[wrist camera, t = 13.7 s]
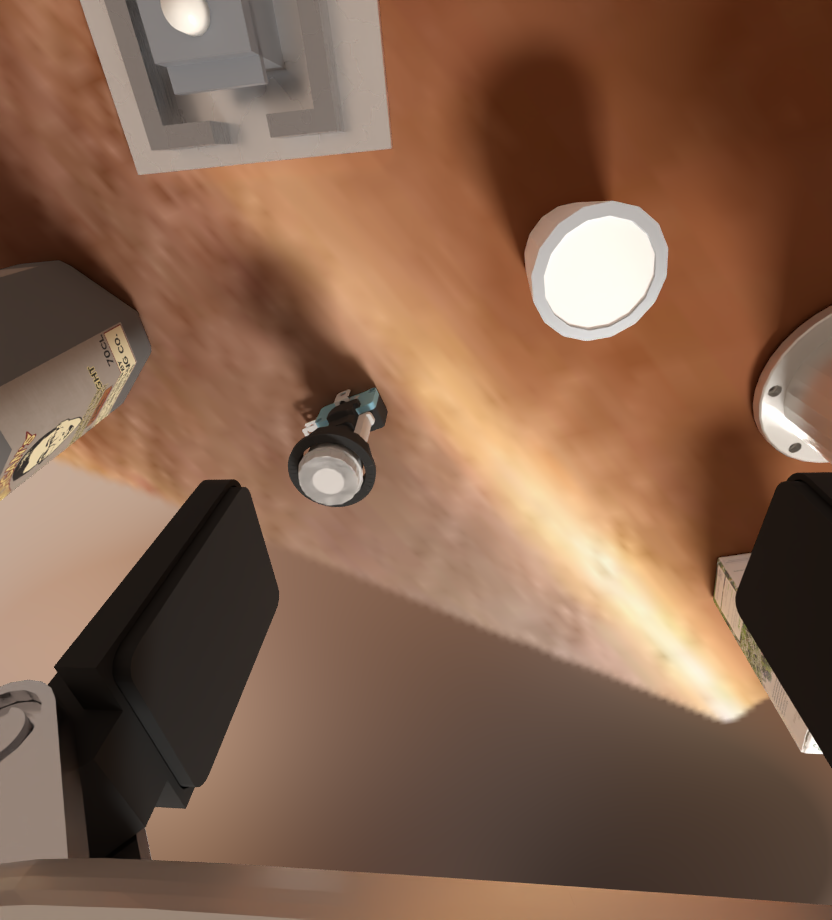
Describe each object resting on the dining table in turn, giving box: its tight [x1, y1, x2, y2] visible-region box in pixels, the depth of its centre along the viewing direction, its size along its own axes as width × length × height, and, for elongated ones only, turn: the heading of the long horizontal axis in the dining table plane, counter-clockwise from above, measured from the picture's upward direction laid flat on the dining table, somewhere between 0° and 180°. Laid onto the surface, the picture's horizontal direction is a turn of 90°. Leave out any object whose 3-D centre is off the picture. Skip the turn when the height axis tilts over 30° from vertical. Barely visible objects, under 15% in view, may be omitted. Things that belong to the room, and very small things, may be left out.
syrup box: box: [713, 553, 823, 754], centre depth 39 cm, size 6×6×14 cm
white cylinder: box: [524, 201, 668, 341], centre depth 28 cm, size 7×7×7 cm
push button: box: [288, 388, 388, 507], centre depth 33 cm, size 7×5×10 cm
